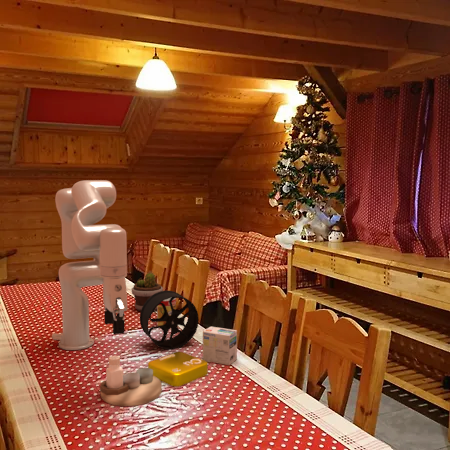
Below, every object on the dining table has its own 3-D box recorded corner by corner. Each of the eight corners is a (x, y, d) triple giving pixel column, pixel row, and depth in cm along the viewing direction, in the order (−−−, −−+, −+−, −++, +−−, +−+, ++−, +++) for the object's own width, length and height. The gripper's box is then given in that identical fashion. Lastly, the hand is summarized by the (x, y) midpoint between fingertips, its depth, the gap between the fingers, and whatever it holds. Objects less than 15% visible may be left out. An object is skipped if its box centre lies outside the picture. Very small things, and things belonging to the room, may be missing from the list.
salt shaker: (124, 389, 147) (123, 358, 146) (111, 392, 144) (110, 361, 143) (118, 384, 150) (117, 354, 149) (105, 387, 147) (105, 356, 146)
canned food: (174, 328, 208) (174, 300, 207) (155, 328, 208) (155, 300, 207) (176, 322, 216) (176, 295, 215) (158, 322, 216) (158, 295, 215)
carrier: (94, 406, 140) (94, 389, 140) (107, 379, 158) (107, 364, 158) (158, 406, 141) (158, 389, 140) (164, 379, 159) (164, 364, 158)
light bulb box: (237, 359, 176) (237, 329, 175) (229, 366, 170) (230, 335, 169) (210, 354, 180) (210, 325, 179) (201, 360, 174) (202, 330, 173)
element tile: (179, 362, 174) (179, 349, 173) (210, 374, 164) (210, 360, 163) (145, 375, 163) (145, 361, 162) (176, 389, 153) (176, 374, 152)
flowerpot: (127, 307, 239) (127, 266, 237) (158, 303, 245) (158, 264, 243) (135, 315, 226) (135, 272, 224) (167, 311, 232) (167, 269, 230)
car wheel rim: (147, 353, 181) (147, 299, 178) (139, 344, 190) (139, 292, 187) (198, 345, 189) (198, 293, 187) (188, 336, 198) (188, 287, 196)
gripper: (135, 275, 137) (135, 335, 139) (118, 264, 152) (119, 318, 154) (107, 278, 134) (108, 339, 136) (93, 266, 149) (94, 321, 151)
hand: (114, 328), depth 145 cm, fingers open, 9 cm apart
